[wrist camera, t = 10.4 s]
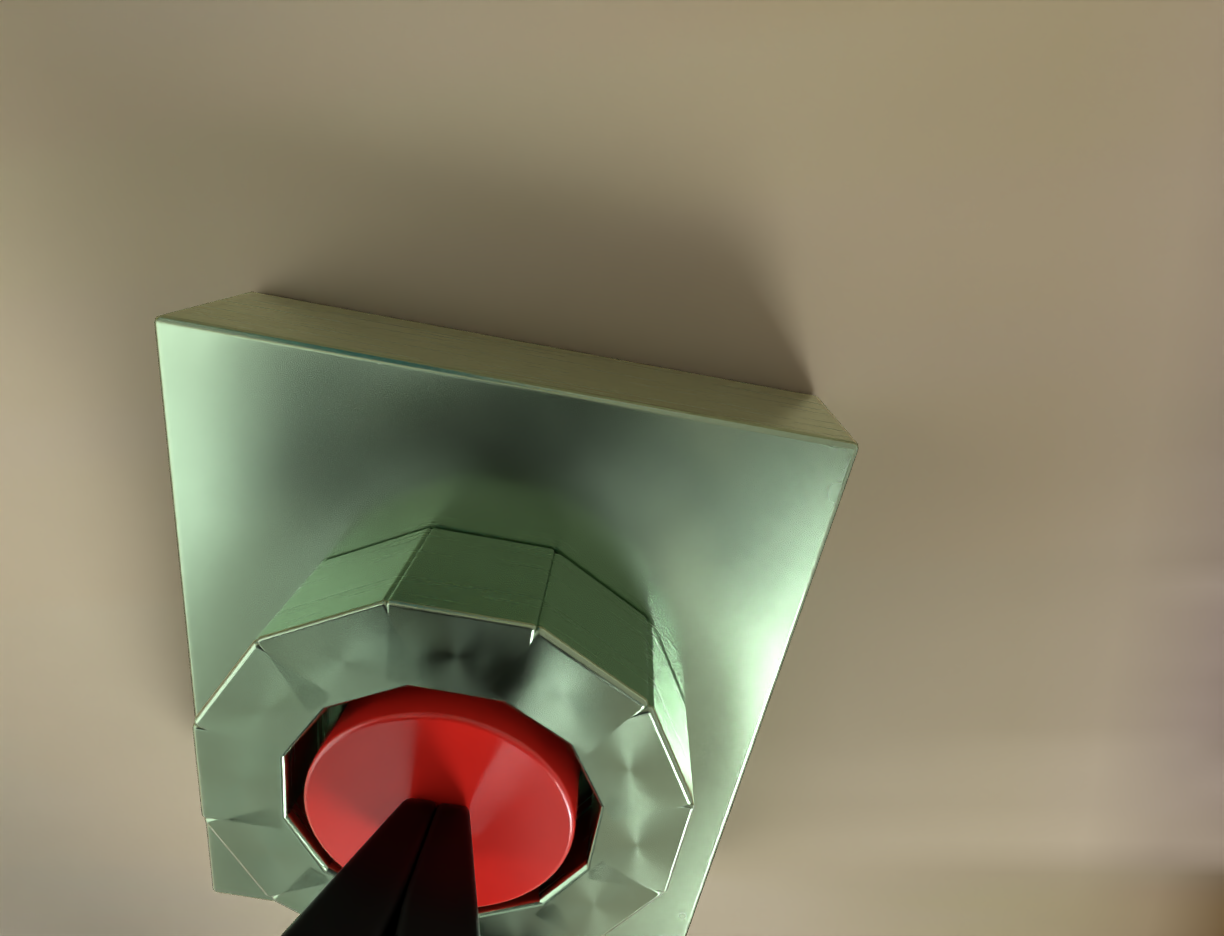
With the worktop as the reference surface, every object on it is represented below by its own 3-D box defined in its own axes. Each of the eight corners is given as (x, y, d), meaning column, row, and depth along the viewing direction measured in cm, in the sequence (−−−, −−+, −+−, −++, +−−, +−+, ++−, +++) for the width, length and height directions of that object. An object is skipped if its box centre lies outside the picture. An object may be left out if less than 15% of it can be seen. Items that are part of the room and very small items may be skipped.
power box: (672, 859, 15) (683, 1083, 11) (271, 794, 14) (144, 1002, 11) (818, 395, 10) (919, 509, 7) (248, 289, 10) (21, 347, 6)
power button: (567, 818, 11) (553, 928, 9) (353, 784, 11) (302, 888, 9) (603, 648, 9) (596, 742, 8) (357, 606, 9) (299, 693, 8)
